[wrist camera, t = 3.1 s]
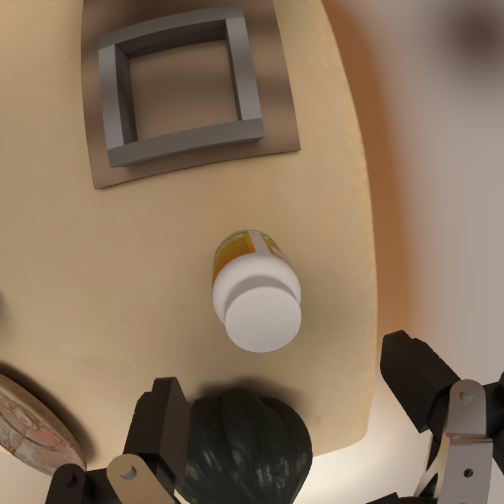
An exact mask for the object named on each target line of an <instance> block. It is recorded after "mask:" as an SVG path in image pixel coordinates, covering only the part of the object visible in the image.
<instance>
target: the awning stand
mask: <svg viewBox="0 0 504 504" xmlns="http://www.w3.org/2000/svg"><path fill="white" fill-rule="evenodd" d="M81 71H82V94H83V108H84V119H85V128H86V137H87V145H88V152H89V159H90V165H91V171H92V177H93V183H94V188H95V190H96V189H100V188H104V187H107V186H111V185H115V184H118V183H122V182H126V181H130V180H134V179H138V178H142V177H146V176H151V175H155V174H159V173H164V172H168V171H173V170H178V169H183V168H188V167H193V166H198V165H203V164H208V163H214V162H220V161H226V160H232V159H238V158H245V157H251V156H258V155H266V154H273V153H281V152H290V151H298V150H301V149H300V142H299V135H298V129H297V122H296V116H295V110H294V104H293V98H292V93H291V87H290V82H289V77H288V71H287V66H286V61H285V56H284V51H283V47H282V42H281V37H280V33H279V28H278V24H277V20H276V15H275V11H274V7H273V3H272V0H84V3H83V16H82V37H81Z"/></svg>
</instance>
